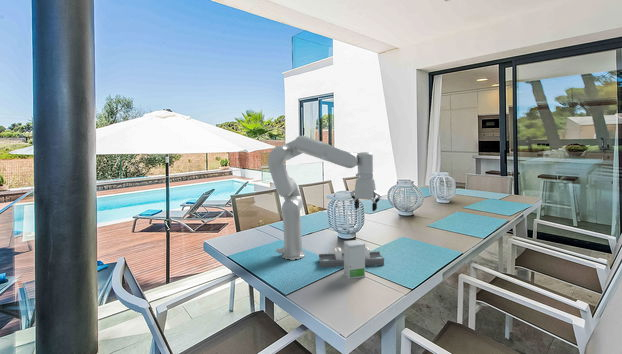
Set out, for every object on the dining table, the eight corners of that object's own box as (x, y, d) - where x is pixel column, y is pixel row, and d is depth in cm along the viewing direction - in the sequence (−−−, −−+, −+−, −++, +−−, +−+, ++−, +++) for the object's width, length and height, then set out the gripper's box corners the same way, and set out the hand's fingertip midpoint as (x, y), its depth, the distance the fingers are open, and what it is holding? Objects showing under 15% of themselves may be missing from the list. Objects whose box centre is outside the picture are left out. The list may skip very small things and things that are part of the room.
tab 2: (363, 258, 144) (363, 248, 144) (362, 255, 149) (361, 245, 148) (369, 258, 144) (369, 248, 144) (367, 254, 149) (367, 245, 148)
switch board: (320, 267, 142) (320, 260, 141) (319, 260, 151) (318, 253, 150) (384, 264, 142) (384, 257, 142) (379, 257, 151) (379, 250, 151)
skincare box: (348, 279, 129) (347, 246, 127) (343, 273, 135) (342, 241, 133) (365, 276, 131) (365, 243, 129) (360, 270, 137) (359, 238, 135)
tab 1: (335, 259, 144) (335, 250, 143) (334, 256, 148) (334, 246, 148) (341, 259, 144) (341, 249, 143) (340, 256, 148) (340, 246, 148)
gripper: (346, 176, 150) (347, 209, 152) (378, 178, 139) (378, 213, 142) (353, 174, 156) (354, 206, 158) (384, 176, 145) (384, 209, 148)
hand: (365, 209), depth 150 cm, fingers open, 9 cm apart
